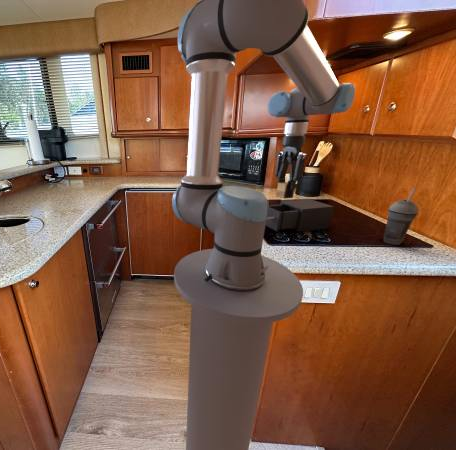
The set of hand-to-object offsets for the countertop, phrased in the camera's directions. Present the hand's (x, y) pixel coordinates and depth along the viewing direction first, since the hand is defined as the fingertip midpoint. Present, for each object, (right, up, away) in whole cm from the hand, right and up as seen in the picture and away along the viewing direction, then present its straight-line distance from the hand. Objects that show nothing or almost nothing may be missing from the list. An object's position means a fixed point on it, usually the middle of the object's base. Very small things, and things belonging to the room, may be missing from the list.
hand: (283, 196), depth 97 cm
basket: (-1, -12, +4) cm, 13 cm away
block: (0, 0, 0) cm, 0 cm away
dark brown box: (+11, -12, +7) cm, 18 cm away
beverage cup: (+33, -18, -11) cm, 39 cm away
